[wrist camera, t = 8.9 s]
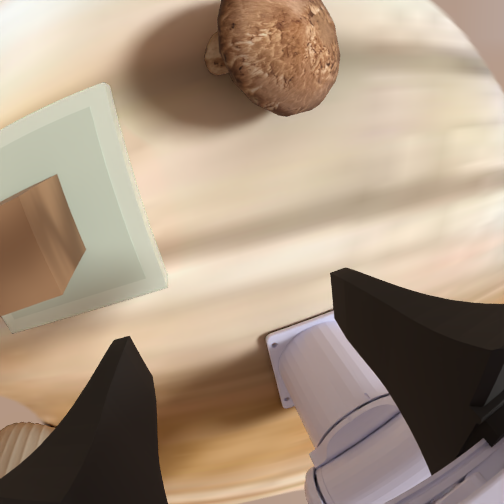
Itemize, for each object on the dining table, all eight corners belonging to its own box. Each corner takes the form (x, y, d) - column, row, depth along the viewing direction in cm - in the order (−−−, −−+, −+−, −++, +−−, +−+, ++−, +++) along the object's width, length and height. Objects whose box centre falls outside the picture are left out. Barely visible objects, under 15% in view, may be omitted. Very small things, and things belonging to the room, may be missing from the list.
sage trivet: (167, 273, 20) (167, 288, 18) (19, 319, 18) (11, 334, 17) (109, 85, 15) (103, 81, 13) (-46, 164, 13) (-61, 169, 12)
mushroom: (150, 83, 13) (257, 35, 9) (194, -21, 13) (284, -67, 9) (258, 144, 19) (355, 134, 15) (276, 46, 19) (359, 26, 15)
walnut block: (86, 249, 16) (62, 294, 12) (26, 272, 16) (-7, 319, 11) (57, 173, 14) (18, 196, 10) (-4, 204, 14) (-50, 234, 9)
